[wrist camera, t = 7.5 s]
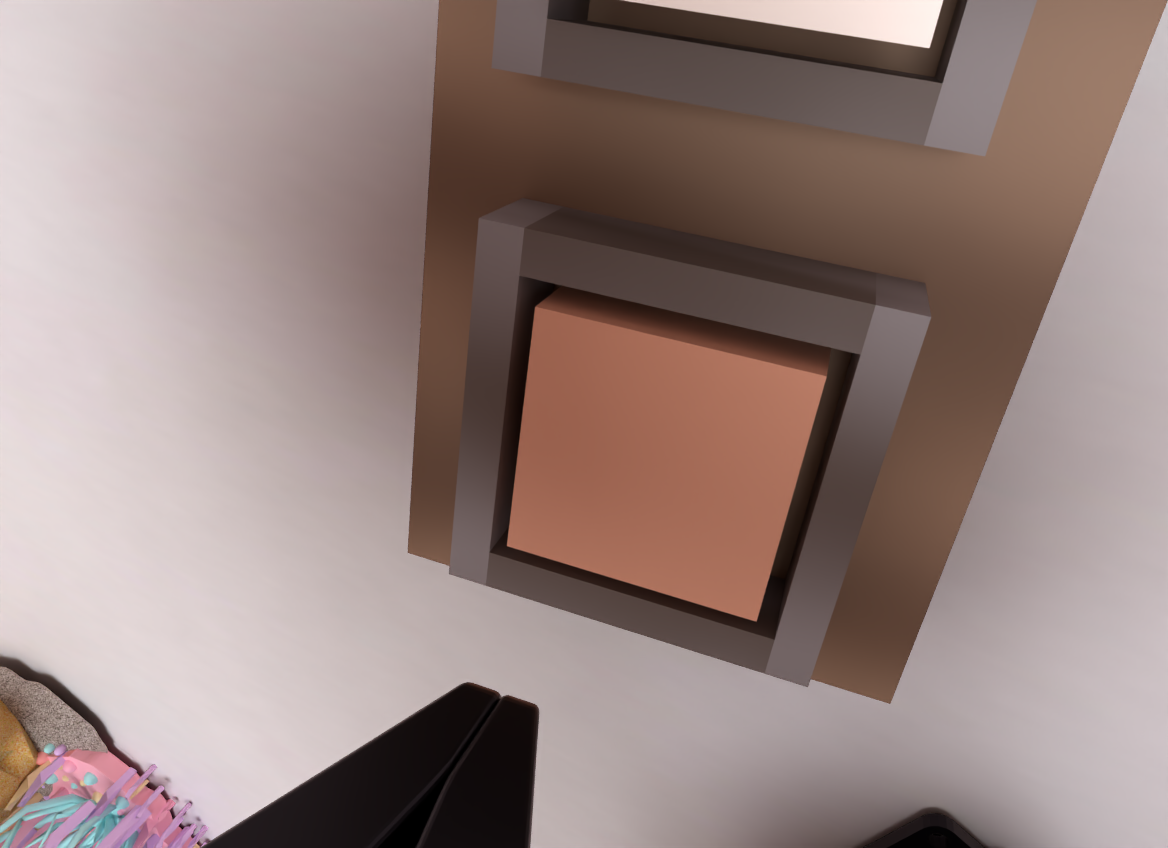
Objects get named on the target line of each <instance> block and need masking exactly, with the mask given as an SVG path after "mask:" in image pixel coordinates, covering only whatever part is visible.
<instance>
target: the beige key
mask: <svg viewBox="0 0 1168 848" xmlns="http://www.w3.org/2000/svg"><path fill="white" fill-rule="evenodd" d="M623 1H629V2H636V3H642V4H649V5H655V6H661V7H668V8H674V9H681V10H687V11H694V12H700V13H706V14H713V15H719V16H726V17H732V18H739V19H745V20H751V21H758V22H764V23H771V24H777V25H783V26H790V27H796V28H803V29H809V30H816V31H822V32H828V33H835V34H841V35H848V36H854V37H861V38H867V39H873V40H880V41H886V42H893V43H899V44H905V45H912V46H918V47H925V48H930V45H931V41H932V38H933V34H934V31H935V27H936V24H937V20H938V17H939V14H940V10H941V7H942V3H943V0H623Z"/></svg>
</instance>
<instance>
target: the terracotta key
mask: <svg viewBox="0 0 1168 848" xmlns="http://www.w3.org/2000/svg"><path fill="white" fill-rule="evenodd" d="M830 353H831V348H830V347H825V346H821V345H817V344H812V343H808V342H804V341H799V340H795V339H791V338H786V337H782V336H778V335H773V334H769V333H765V332H761V331H756V330H752V329H748V328H743V327H739V326H735V325H730V324H726V323H722V322H717V321H713V320H709V319H704V318H700V317H696V316H692V315H687V314H683V313H679V312H674V311H670V310H666V309H661V308H657V307H653V306H648V305H644V304H640V303H635V302H631V301H627V300H622V299H618V298H614V297H610V296H605V295H601V294H597V293H592V292H588V291H584V290H579V289H575V288H571V287H566V286H561V287H560V288H558V289H557V290H556V291H555V292H553V293H552V294H551V295H550V296H548V297H547V298H546V299H544V300H543V301H542V302H541V303H539V304H538V305H537V306H536V307H535V313H534V321H533V329H532V338H531V346H530V355H529V363H528V372H527V380H526V389H525V397H524V406H523V414H522V422H521V431H520V439H519V448H518V456H517V465H516V473H515V482H514V490H513V499H512V507H511V515H510V524H509V532H508V541H507V546H508V547H512V548H515V549H518V550H522V551H525V552H528V553H531V554H535V555H538V556H541V557H545V558H548V559H551V560H555V561H558V562H561V563H564V564H568V565H571V566H574V567H578V568H581V569H584V570H587V571H591V572H594V573H597V574H601V575H604V576H607V577H611V578H614V579H617V580H620V581H624V582H627V583H630V584H634V585H637V586H640V587H644V588H647V589H650V590H653V591H657V592H660V593H663V594H667V595H670V596H673V597H676V598H680V599H683V600H686V601H690V602H693V603H696V604H700V605H703V606H706V607H709V608H713V609H716V610H719V611H723V612H726V613H729V614H732V615H736V616H739V617H742V618H746V619H749V620H752V621H756V622H757V618H758V615H759V611H760V608H761V604H762V601H763V597H764V594H765V590H766V587H767V583H768V580H769V576H770V573H771V569H772V566H773V562H774V559H775V555H776V552H777V548H778V545H779V541H780V538H781V534H782V531H783V528H784V524H785V521H786V517H787V514H788V510H789V507H790V503H791V500H792V496H793V493H794V489H795V486H796V482H797V479H798V475H799V472H800V468H801V465H802V461H803V458H804V454H805V451H806V447H807V444H808V440H809V437H810V433H811V430H812V426H813V423H814V419H815V416H816V412H817V409H818V405H819V402H820V398H821V395H822V391H823V388H824V384H825V381H826V377H827V372H828V366H829V359H830Z"/></svg>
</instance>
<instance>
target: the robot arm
mask: <svg viewBox="0 0 1168 848" xmlns="http://www.w3.org/2000/svg"><path fill="white" fill-rule="evenodd" d="M538 724H539V708H538V707H537V705H535V704H533V703H530V702H527V701H524V700H521V699H518V698H515V697H512V696H509V695H506V696H503V697H502V698H501V695H500V694H499V693H498V692H497V691H495V690H492V689H489V688H486V687H483V686H480V685H477V684H474V683H470V682H467V683H463V684H461V685H459V686H457V687H456V688H454V689H453V690H451V691H449V692H448V693H446V694H445V695H443V696H441V697H440V698H438V699H437V700H435V701H433V702H432V703H430V704H429V705H427V706H425V707H424V708H422V709H421V710H419V711H417V712H416V713H414V714H413V715H411V716H409V717H408V718H406V719H405V720H403V721H401V722H400V723H398V724H397V725H395V726H394V727H392V728H390V729H389V730H387V731H386V732H384V733H382V734H381V735H379V736H378V737H376V738H374V739H373V740H371V741H370V742H368V743H366V744H365V745H363V746H362V747H360V748H358V749H357V750H355V751H354V752H352V753H350V754H349V755H347V756H346V757H344V758H342V759H341V760H339V761H338V762H336V763H334V764H333V765H331V766H330V767H328V768H326V769H325V770H323V771H322V772H320V773H318V774H317V775H315V776H314V777H312V778H310V779H309V780H307V781H306V782H304V783H302V784H301V785H299V786H298V787H296V788H294V789H293V790H291V791H290V792H288V793H287V794H285V795H283V796H282V797H280V798H279V799H277V800H275V801H274V802H272V803H271V804H269V805H267V806H266V807H264V808H263V809H261V810H259V811H258V812H256V813H255V814H253V815H251V816H250V817H248V818H247V819H245V820H243V821H242V822H240V823H239V824H237V825H235V826H234V827H232V828H231V829H229V830H227V831H226V832H224V833H223V834H221V835H219V836H218V837H216V838H215V839H213V840H211V841H210V842H208V843H207V844H205V845H203V846H202V847H200V848H530V843H531V828H532V813H533V798H534V783H535V768H536V753H537V739H538ZM934 833H938V834H942V836H936V835H933V834H934ZM864 848H984V847H983V846H982V845H981V844H979V843H978V842H977V841H976V840H975V839H974V838H973V837H971V836H970V835H969V834H968V833H967V832H966V831H965V830H963V829H962V828H961V827H960V826H959V825H958V824H957V823H955V822H954V821H953V820H952V819H950V818H949V817H947V816H944V815H941V814H927V815H924V816H921V817H920V818H918V819H916V820H914V821H912V822H910V823H908V824H907V825H905V826H903V827H901V828H899V829H897V830H895V831H894V832H892V833H890V834H888V835H886V836H884V837H882V838H881V839H879V840H877V841H875V842H873V843H871V844H869V845H868V846H866V847H864Z"/></svg>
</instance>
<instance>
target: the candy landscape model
mask: <svg viewBox="0 0 1168 848" xmlns="http://www.w3.org/2000/svg"><path fill="white" fill-rule="evenodd" d="M156 768H157V766H156V765H155V764H154V765H152V766H151V767H150V768H149V769H148V770H147V771H146V772H145V773H144V774H143V775H142V776H141V777H140V776H139V775H138V774H137V770H135V769H134V768H132V767H128V766H127V765H126V764H125V763H123V762H122V761H121V760H120V759H118V758H117V757H116V756H114V755H113V754H112V753H110V752H109V751H108V749H107V747H106V745H105V744H104V743H103V742H102V740H101V739H100V737H99V735H98V733H97V731H96V730H95V729H94V727H93V726H92V725H91V724H89V723H88V722H87V721H86V720H85V719H84V718H82V717H81V716H80V715H79V714H78V713H77V712H75V711H74V710H73V709H72V708H71V707H69V706H68V705H67V704H66V703H65V702H63V701H62V700H61V699H60V698H59V697H58V696H56V695H55V694H54V693H53V692H52V691H50V690H49V689H48V688H47V687H45V686H44V685H42V684H41V683H38V682H34V681H27V680H25V679H23V678H21V677H20V676H19V675H17V674H16V673H15V672H13V671H12V670H10V669H8V668H6V667H0V848H200V846H199V845H198V844H197V842H198V841H199V839H200V838H201V837H202V836H203V835H204V833H205V832H206V831H207V830H208V827H207V826H206V825H204V826H203V827H202V828H201V830H200V831H199V832H198V833H197V834H196V835H195V837H194V838H192V837H191V835H192V834H193V833H194V829H195V828H196V827H197V826H196V825H195V824H192V825H191V826H190V827H189V826H188V827H185V828H184V829H183V830H182V829H181V828H180V827H179V824H180V823H181V822H182V821H183V820H184V818H183V817H182V816H183V814H184V813H185V812H186V811H187V810H188V809H189V808H190V806H191V803H187V805H186V806H185V807H184V808H183V809H182V810H181V811H180V812H179V813H178V815H177V816H176V817H175V818H174V820H173V819H172V816H171V813H170V811H169V810H170V809H171V808H172V807H173V806H174V805H175V804H176V803H175V802H174V801H172V800H171V799H167V800H165V799H164V797H163V796H162V795H161V794H160V793H161V792H162V791H163V790H164V789H165V788H164V787H163V786H162V785H161V786H159V787H158V788H157V789H156V790H155V791H153V790H151V789H149V788H147V787H146V786H145V785H146V784H147V783H148V782H149V781H148V780H147V779H146V778H147V777H148V776H149V775H150V774H151V773H152V772H153V771H154V770H155V769H156ZM145 779H146V780H145ZM144 780H145V781H144ZM205 844H207V843H206V842H204V843H203V844H202V846H203V845H205ZM202 846H201V847H202Z"/></svg>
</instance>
